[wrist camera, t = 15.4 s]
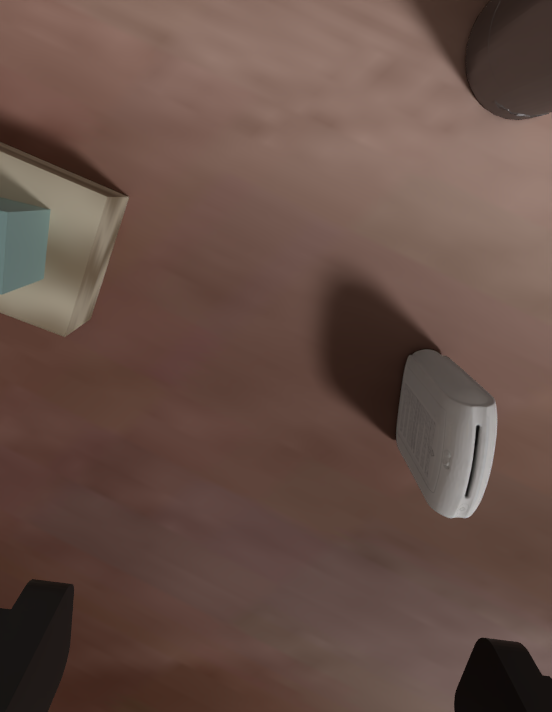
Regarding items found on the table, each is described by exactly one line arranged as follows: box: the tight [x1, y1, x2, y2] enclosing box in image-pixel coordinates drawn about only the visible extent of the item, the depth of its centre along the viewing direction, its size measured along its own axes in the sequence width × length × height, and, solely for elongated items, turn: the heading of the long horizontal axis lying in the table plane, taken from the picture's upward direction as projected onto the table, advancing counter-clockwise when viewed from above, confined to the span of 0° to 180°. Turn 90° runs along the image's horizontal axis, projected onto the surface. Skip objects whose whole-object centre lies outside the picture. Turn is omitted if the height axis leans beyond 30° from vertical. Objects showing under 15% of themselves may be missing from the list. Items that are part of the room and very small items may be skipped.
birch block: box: [0, 142, 129, 337], centre depth 37 cm, size 11×11×6 cm
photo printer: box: [396, 349, 497, 518], centre depth 39 cm, size 10×4×12 cm, turn 178°
